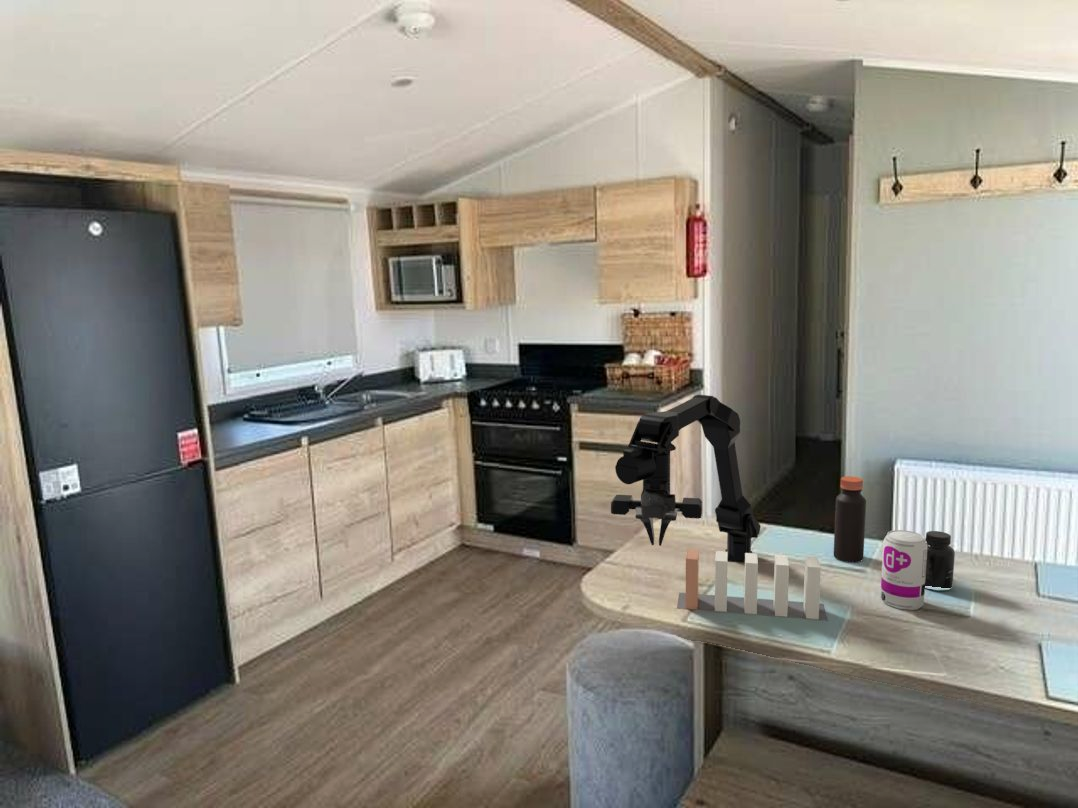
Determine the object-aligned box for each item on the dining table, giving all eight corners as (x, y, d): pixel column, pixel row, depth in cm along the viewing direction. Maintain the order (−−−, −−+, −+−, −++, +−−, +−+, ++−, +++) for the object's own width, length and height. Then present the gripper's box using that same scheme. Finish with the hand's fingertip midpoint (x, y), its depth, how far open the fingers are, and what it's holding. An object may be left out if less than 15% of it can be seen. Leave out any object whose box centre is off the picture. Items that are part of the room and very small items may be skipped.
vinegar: (837, 551, 188) (840, 473, 184) (866, 556, 184) (870, 477, 180) (830, 559, 182) (833, 480, 179) (859, 565, 178) (863, 484, 175)
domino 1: (714, 610, 156) (715, 560, 154) (715, 599, 161) (715, 551, 159) (726, 611, 155) (727, 561, 153) (726, 600, 160) (727, 551, 158)
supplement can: (906, 615, 152) (910, 545, 150) (871, 600, 159) (875, 533, 157) (932, 606, 156) (936, 538, 153) (897, 592, 163) (901, 526, 160)
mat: (679, 594, 165) (679, 592, 165) (823, 605, 158) (823, 603, 158) (676, 609, 157) (676, 608, 157) (828, 622, 150) (828, 620, 150)
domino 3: (775, 615, 153) (776, 564, 151) (773, 604, 158) (774, 554, 156) (787, 616, 152) (788, 565, 150) (785, 605, 157) (786, 555, 156)
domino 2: (744, 613, 154) (745, 562, 152) (744, 601, 159) (745, 552, 158) (756, 614, 154) (757, 563, 152) (755, 602, 159) (756, 553, 157)
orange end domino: (685, 608, 157) (685, 559, 155) (686, 597, 162) (687, 549, 160) (697, 609, 156) (697, 559, 155) (698, 598, 162) (698, 550, 160)
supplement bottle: (956, 593, 162) (960, 540, 160) (922, 591, 163) (926, 538, 161) (946, 580, 168) (950, 529, 166) (913, 578, 170) (916, 528, 168)
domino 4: (806, 618, 151) (807, 566, 149) (803, 606, 157) (805, 556, 155) (818, 619, 151) (820, 567, 149) (815, 607, 156) (817, 557, 154)
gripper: (606, 482, 151) (607, 555, 154) (700, 486, 147) (699, 561, 149) (614, 468, 162) (615, 537, 164) (702, 471, 157) (701, 542, 160)
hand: (656, 544), depth 159 cm, fingers closed
